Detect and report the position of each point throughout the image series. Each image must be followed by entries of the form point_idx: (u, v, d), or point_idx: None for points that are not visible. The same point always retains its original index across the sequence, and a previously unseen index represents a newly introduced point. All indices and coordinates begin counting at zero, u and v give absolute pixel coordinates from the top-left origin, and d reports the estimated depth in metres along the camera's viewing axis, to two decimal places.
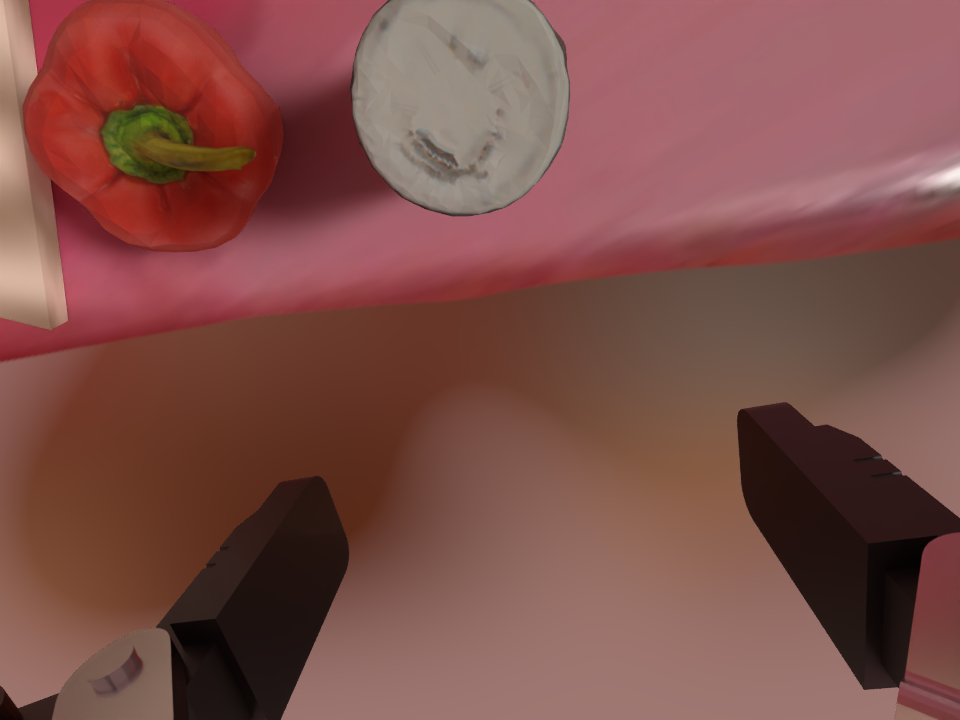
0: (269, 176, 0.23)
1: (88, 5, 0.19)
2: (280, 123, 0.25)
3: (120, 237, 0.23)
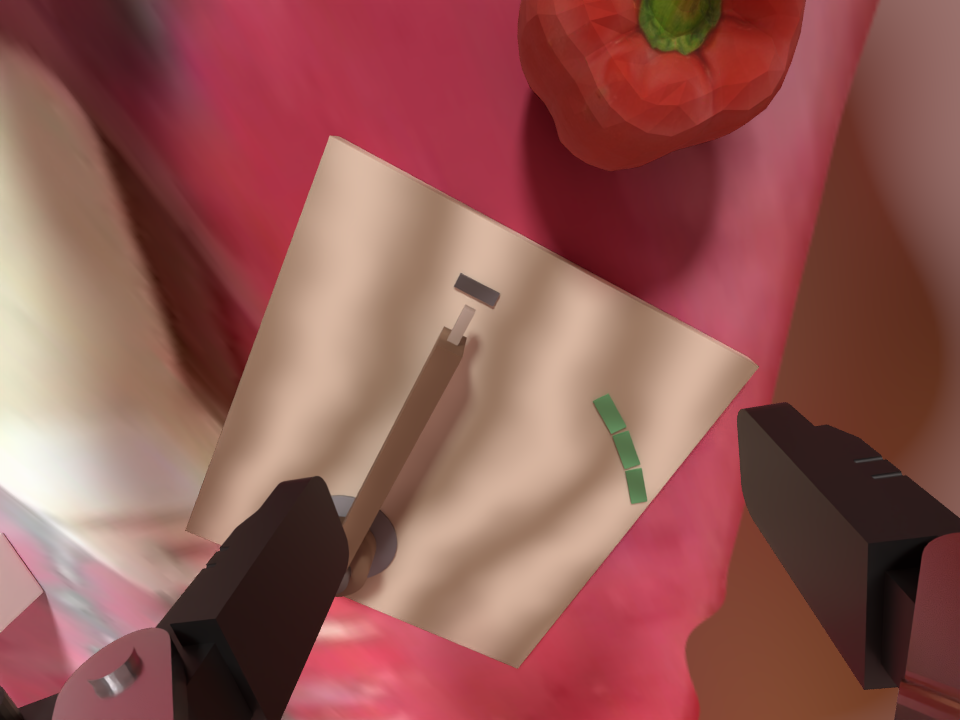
0: None
1: None
2: None
3: (764, 95, 0.18)
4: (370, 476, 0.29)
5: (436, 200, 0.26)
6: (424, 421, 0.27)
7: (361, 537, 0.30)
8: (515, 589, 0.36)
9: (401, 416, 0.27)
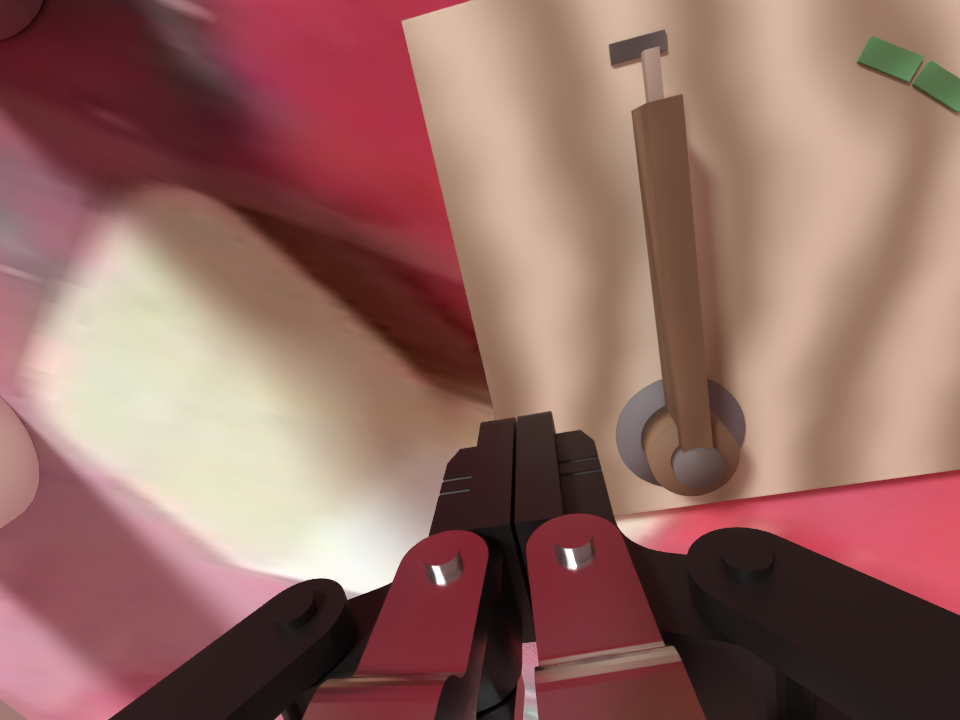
0: None
1: None
2: None
3: None
4: (670, 313, 0.23)
5: None
6: (688, 203, 0.21)
7: (704, 393, 0.24)
8: (915, 365, 0.27)
9: (660, 217, 0.22)
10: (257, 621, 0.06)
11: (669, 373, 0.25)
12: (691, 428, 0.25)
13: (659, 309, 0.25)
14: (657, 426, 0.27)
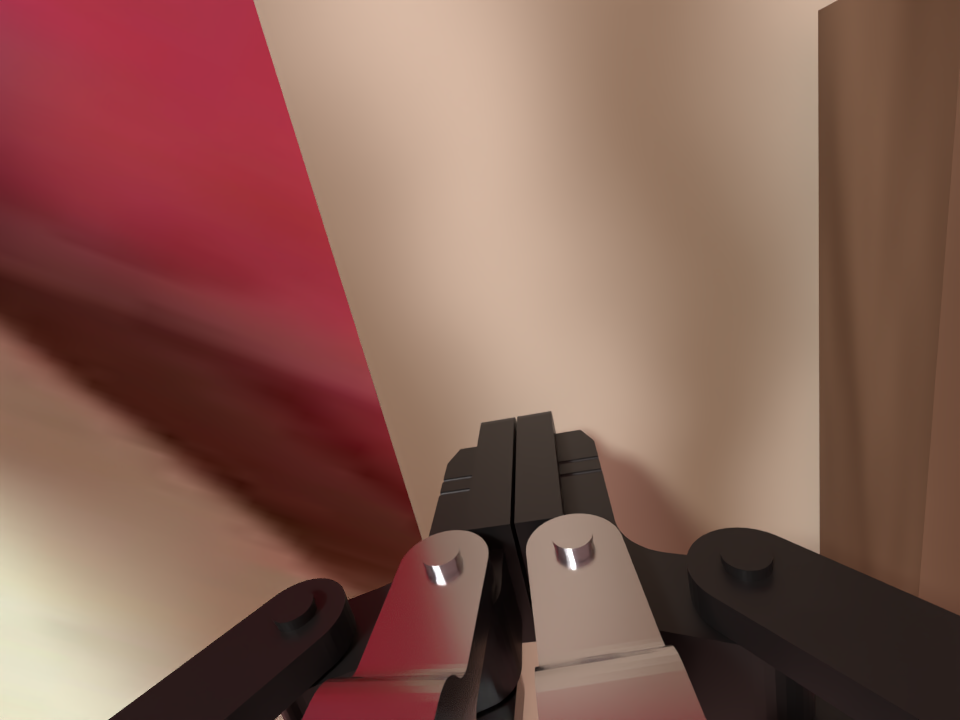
0: None
1: None
2: None
3: None
4: (924, 577, 0.08)
5: None
6: None
7: None
8: None
9: (944, 327, 0.07)
10: (257, 621, 0.06)
11: None
12: None
13: (852, 519, 0.10)
14: None
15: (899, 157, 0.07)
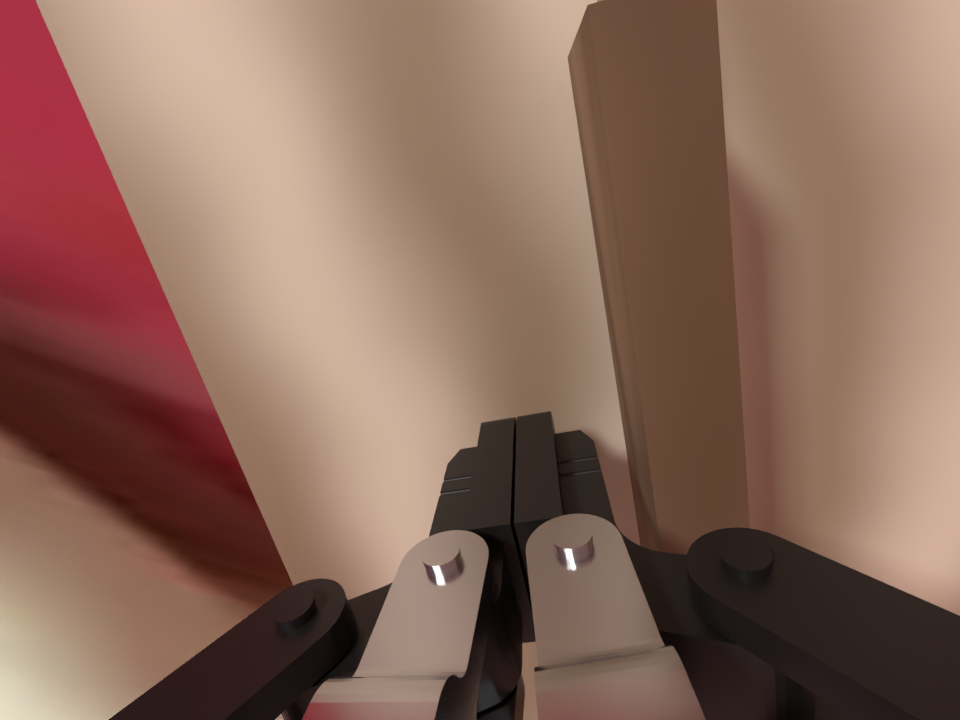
0: None
1: None
2: None
3: None
4: None
5: None
6: (726, 326, 0.07)
7: None
8: None
9: (640, 363, 0.07)
10: (257, 621, 0.06)
11: None
12: None
13: (645, 536, 0.11)
14: None
15: (604, 202, 0.08)
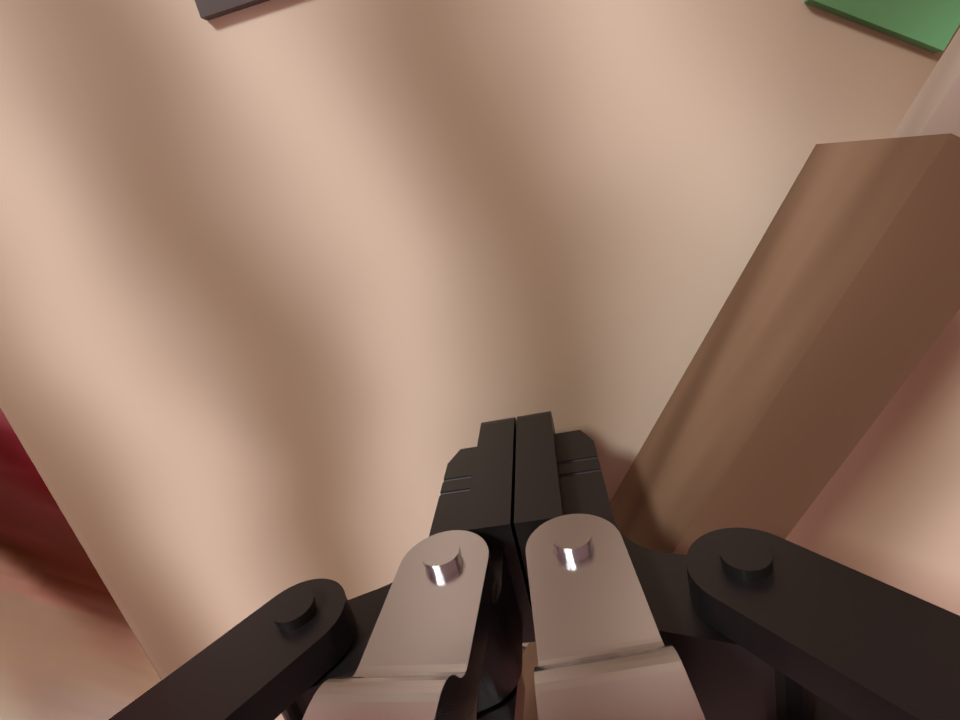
0: None
1: None
2: None
3: None
4: None
5: None
6: (832, 460, 0.07)
7: None
8: None
9: (746, 449, 0.08)
10: (258, 621, 0.06)
11: None
12: None
13: None
14: None
15: (797, 295, 0.08)
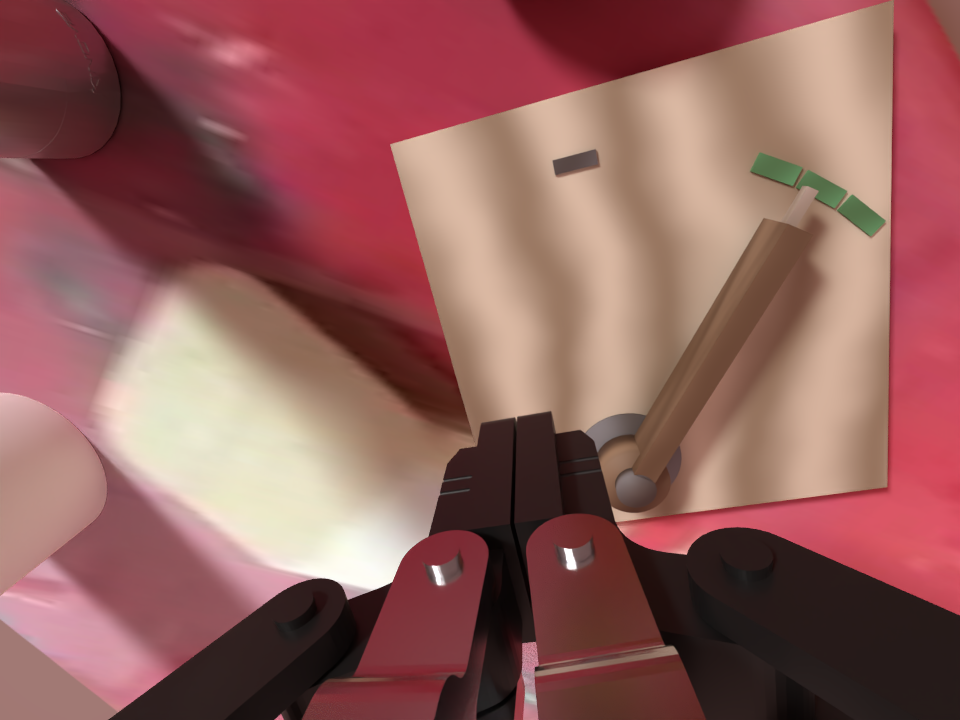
0: None
1: None
2: None
3: None
4: (696, 374, 0.29)
5: (493, 121, 0.29)
6: (763, 309, 0.27)
7: (678, 442, 0.30)
8: (819, 405, 0.32)
9: (739, 305, 0.27)
10: (257, 621, 0.06)
11: (661, 414, 0.31)
12: (651, 461, 0.31)
13: (685, 366, 0.30)
14: (622, 445, 0.33)
15: (754, 263, 0.27)
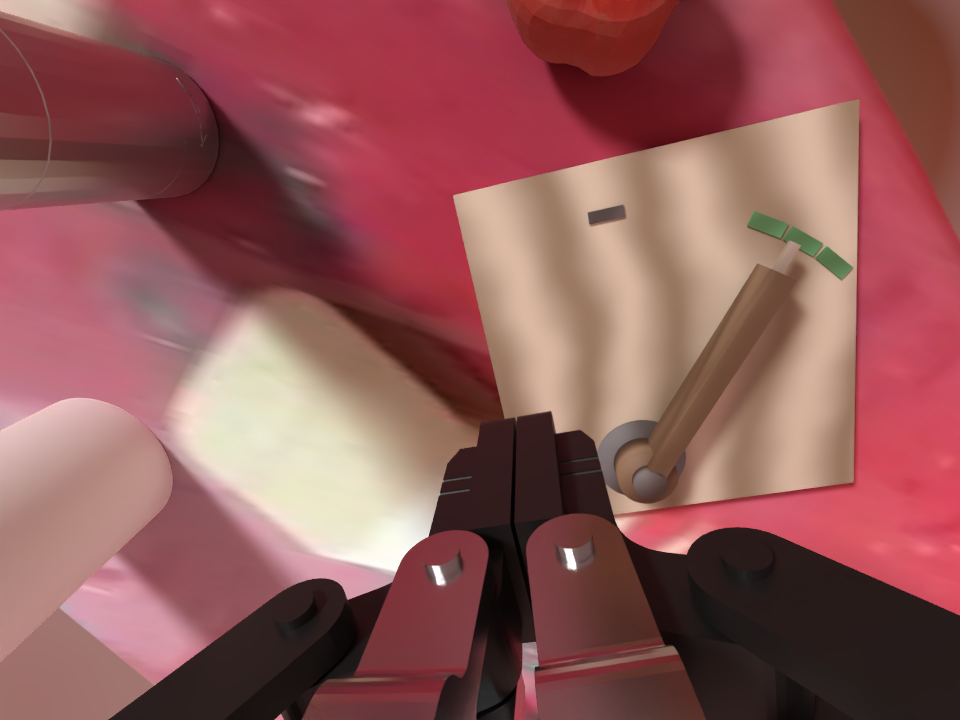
0: None
1: (525, 6, 0.26)
2: None
3: None
4: (703, 389, 0.35)
5: (540, 180, 0.35)
6: (756, 337, 0.34)
7: (686, 444, 0.37)
8: (799, 414, 0.39)
9: (738, 334, 0.34)
10: (257, 621, 0.06)
11: (672, 421, 0.37)
12: (664, 459, 0.37)
13: (692, 381, 0.37)
14: (638, 446, 0.39)
15: (750, 300, 0.34)
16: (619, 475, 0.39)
